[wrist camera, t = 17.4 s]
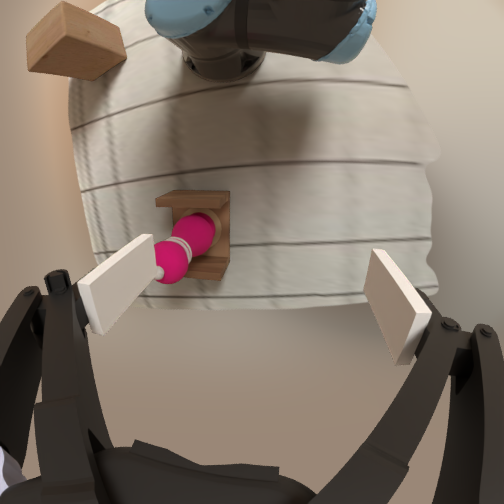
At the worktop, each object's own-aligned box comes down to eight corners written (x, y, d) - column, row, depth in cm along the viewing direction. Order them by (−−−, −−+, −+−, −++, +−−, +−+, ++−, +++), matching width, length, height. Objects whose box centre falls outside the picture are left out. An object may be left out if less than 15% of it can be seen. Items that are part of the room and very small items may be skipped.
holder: (173, 190, 50) (155, 198, 43) (229, 191, 49) (219, 199, 42) (177, 257, 56) (162, 274, 48) (229, 261, 55) (220, 280, 47)
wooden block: (128, 58, 40) (65, 35, 22) (92, 82, 43) (26, 72, 24) (119, 26, 37) (62, -1, 19) (86, 50, 39) (25, 35, 21)
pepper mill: (193, 251, 53) (150, 307, 35) (175, 219, 51) (120, 262, 33) (225, 237, 51) (191, 290, 33) (206, 202, 49) (161, 239, 31)
